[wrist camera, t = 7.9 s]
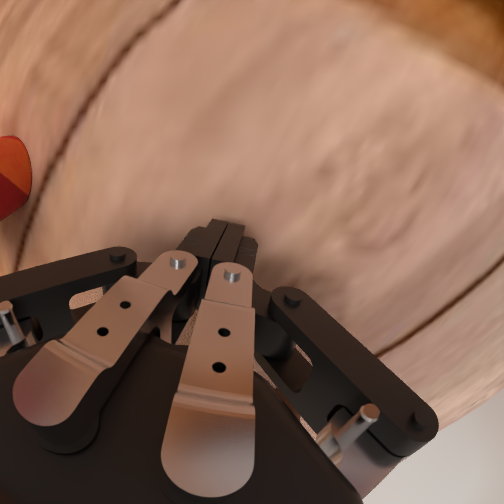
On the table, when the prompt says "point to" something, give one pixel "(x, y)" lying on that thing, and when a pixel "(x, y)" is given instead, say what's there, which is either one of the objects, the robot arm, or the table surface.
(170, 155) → the table surface
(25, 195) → the paper cup
